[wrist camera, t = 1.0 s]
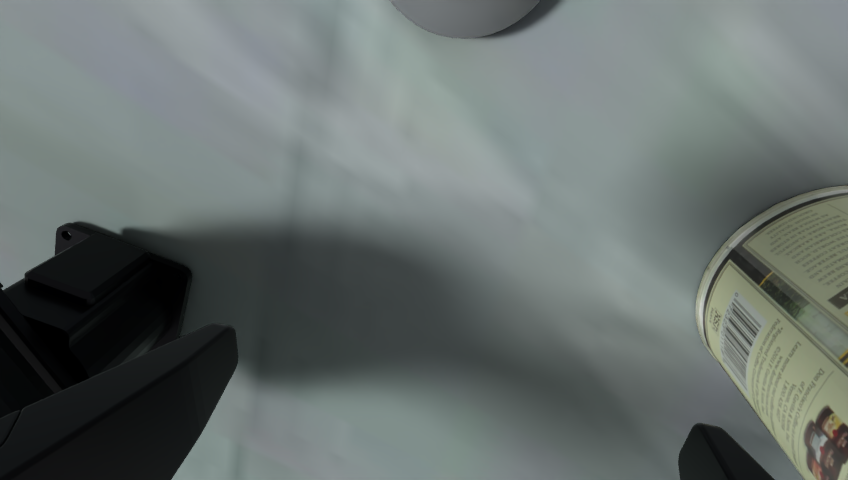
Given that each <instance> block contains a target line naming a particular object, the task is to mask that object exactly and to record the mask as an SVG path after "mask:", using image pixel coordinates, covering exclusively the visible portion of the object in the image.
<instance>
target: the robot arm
mask: <svg viewBox="0 0 848 480" xmlns="http://www.w3.org/2000/svg"><path fill="white" fill-rule="evenodd" d="M68 232H69V233H70V234H71V236H70V235H69V233H68ZM177 273H179V274H180V275H181V276H182V277H183V278H181V277H179V276H178V274H177ZM191 280H192V273H191V271H190V270H189V269H188V268H187V267H186V266H184V265H181V264H178V263H176V262H173V261H171V260H168V259H165V258H163V257H160V256H157V255H155V254H152V253H150V252H147V251H145V250H142V249H140V248H137V247H134V246H132V245H129V244H126V243H124V242H121V241H119V240H116V239H113V238H111V237H108V236H105V235H103V234H100V233H97V232H94V231H92V230H89V229H86V228H84V227H81V226H79V225H76V224H73V223H66V224H64V225H62V226H60V227H59V228H57V231H56V244H55V256H54V257H52V258H50V259H48V260H47V261H45V262H43V263H41V264H40V265H38V266H36V267H34V268H33V269H31V270H29V271H27V272H26V273H25V278H23V279H22V280H20V281H18V282H16V283H15V284H13V285H11V286H10V287H8V288H6V289H4V290H2V289H1V288H2V287H3V285H2V284H1V283H0V480H171V479H172V478H173V476H174V475H175V473H176V472H177V470H178V469H179V467H180V466H181V464H182V463H183V461H184V460H185V458H186V456H187V455H188V453H189V452H190V450H191V449H192V447H193V446H194V444H195V443H196V441H197V440H198V438H199V436H200V435H201V433H202V431H203V430H204V428H205V426H206V424H207V422H208V421H209V419H210V417H211V415H212V413H213V411H214V409H215V407H216V405H217V403H218V401H219V400H220V398H221V396H222V394H223V392H224V390H225V388H226V386H227V384H228V382H229V381H230V379H231V377H232V375H233V373H234V371H235V369H236V366H237V363H238V349H237V340H236V332H235V329H234V328H233V327H232V326H229V325H224V324H219V323H212V324H210V325H208V326H205V327H203V328H201V329H199V330H196V331H194V332H192V333H190V334H187V335H185V336H183V337H181V338H179V337H180V332H181V327H182V323H183V318H184V313H185V308H186V304H187V299H188V294H189V289H190V285H191ZM678 465H679V473H680V480H775V479H774V478H773V477H772V476H771V475H769V474H768V473H767V472H766V471H765V470H764V469H763V468H762V467H761V466H760V465H759V464H758V463H757V462H756V461H755V460H754V459H753V458H752V457H751V456H750V455H749V454H748V453H747V452H746V451H745V450H744V449H743V448H742V447H741V446H740V445H739V444H738V443H737V442H736V441H735V440H734V439H733V438H732V437H731V436H730V435H729V434H728V433H727V432H726V431H724V430H723V429H722V428H720V427H717V426H713V425H708V424H703V423H697V424H695V425H694V426H693V427H692V429H691V431H690V433H689V435H688V437H687V439H686V441H685V443H684V445H683V447H682V449H681V451H680V454H679V460H678Z"/></svg>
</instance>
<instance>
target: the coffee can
mask: <svg viewBox="0 0 848 480" xmlns="http://www.w3.org/2000/svg"><path fill="white" fill-rule="evenodd" d="M696 321H697V327H698V330H699V333H700V336H701V339H702V342H703V344H704V345H705V347H706V348H707V350H708V351H709V352H710V354H711V355H712V356H713V357H714V358H715V359H716V360H717V361H718V362H719V363H720V365H721V366H722V368H723V369H724V370H725V372H726V373H727V374H728V376H729V377H730V379H731V380H732V381H733V383H734V384H735V386H736V387H737V388H738V390H739V391H740V392H741V394H742V395H743V396H744V398H745V399H746V400H747V402H748V403H749V405H750V406H751V407H752V409H753V410H754V412H755V413H756V414H757V416H758V417H759V418H760V420H761V421H762V422H763V424H764V425H765V427H766V428H767V429H768V431H769V432H770V433H771V435H772V436H773V437H774V439H775V440H776V441H777V443H778V444H779V446H780V447H781V448H782V450H783V451H784V453H785V454H786V455H787V457H788V458H789V459H790V461H791V462H792V464H793V465H794V466H795V468H796V469H797V470H798V472H799V473H800V475H801V476H802V477H803V479H804V480H848V185H845V186H837V187H829V188H823V189H819V190H815V191H811V192H807V193H804V194H801V195H798V196H795V197H793V198H791V199H788V200H786V201H783V202H780V203H778V204H776V205H774V206H772V207H771V208H769V209H768V210H766V211H764V212H763V213H761V214H760V215H758V216H756V217H754V218H753V219H751V220H750V221H749V222H748V223H746V224H745V225H744V226H742V227H741V228H739V229H738V230H737V231H736V232H735V233H734V234H733V235H732V236H731V237H730V238H729V239H728V240H727V241H726V242H725V243H724V244H723V245H722V246H721V248H720V249H719V250H718V251H717V253H716V254H715V256H714V257H713V258H712V260H711V262H710V263H709V265H708V266H707V268H706V269H705V273H704V275H703V278H702V280H701V283H700V287H699V290H698V293H697V299H696Z"/></svg>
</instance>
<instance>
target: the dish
mask: <svg viewBox="0 0 848 480" xmlns="http://www.w3.org/2000/svg"><path fill="white" fill-rule="evenodd" d="M390 1H391V3H392V4H393V5H394V6H395V7H396V9H397V10H399V11H400V12H401V13H402V14H403V15H404V16H405V17H406V18H407V19H409V20H410V21H412V22H413V23H414V24H416V25H417V26H419V27H421V28H423V29H425V30H427V31H429V32H432V33H435V34H438V35H441V36H446V37H451V38H464V39H465V38H477V37H482V36H486V35H490V34H493V33H495V32H498V31H501V30H503V29H505V28H507V27H509V26H510V25H512V24H514V23H516V22H517V21H518V20H520V19H521V18H523V17H524V16H525V15H526V14H527V13H529V12H530V11H531V10H532V9H533V8H534V7H535V6H536V5H537V4H538V3H539V2H540V0H390Z"/></svg>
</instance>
